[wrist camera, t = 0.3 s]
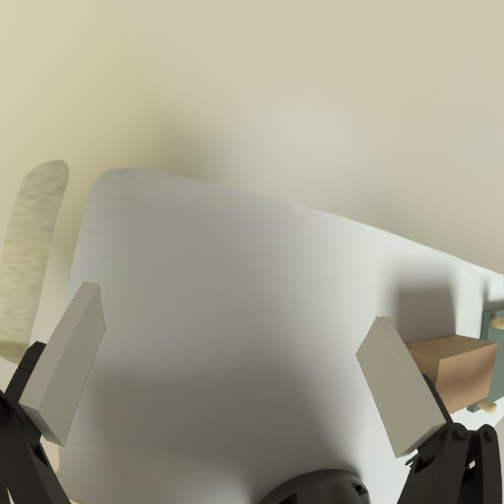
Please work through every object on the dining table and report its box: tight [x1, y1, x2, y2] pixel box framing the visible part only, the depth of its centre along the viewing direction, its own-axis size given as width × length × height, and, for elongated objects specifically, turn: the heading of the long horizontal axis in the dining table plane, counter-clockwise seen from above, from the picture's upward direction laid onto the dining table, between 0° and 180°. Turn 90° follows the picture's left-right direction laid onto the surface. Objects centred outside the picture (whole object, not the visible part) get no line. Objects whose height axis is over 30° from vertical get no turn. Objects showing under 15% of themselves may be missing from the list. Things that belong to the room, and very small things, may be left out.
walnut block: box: [405, 335, 498, 414], centre depth 27 cm, size 7×11×8 cm, turn 89°
